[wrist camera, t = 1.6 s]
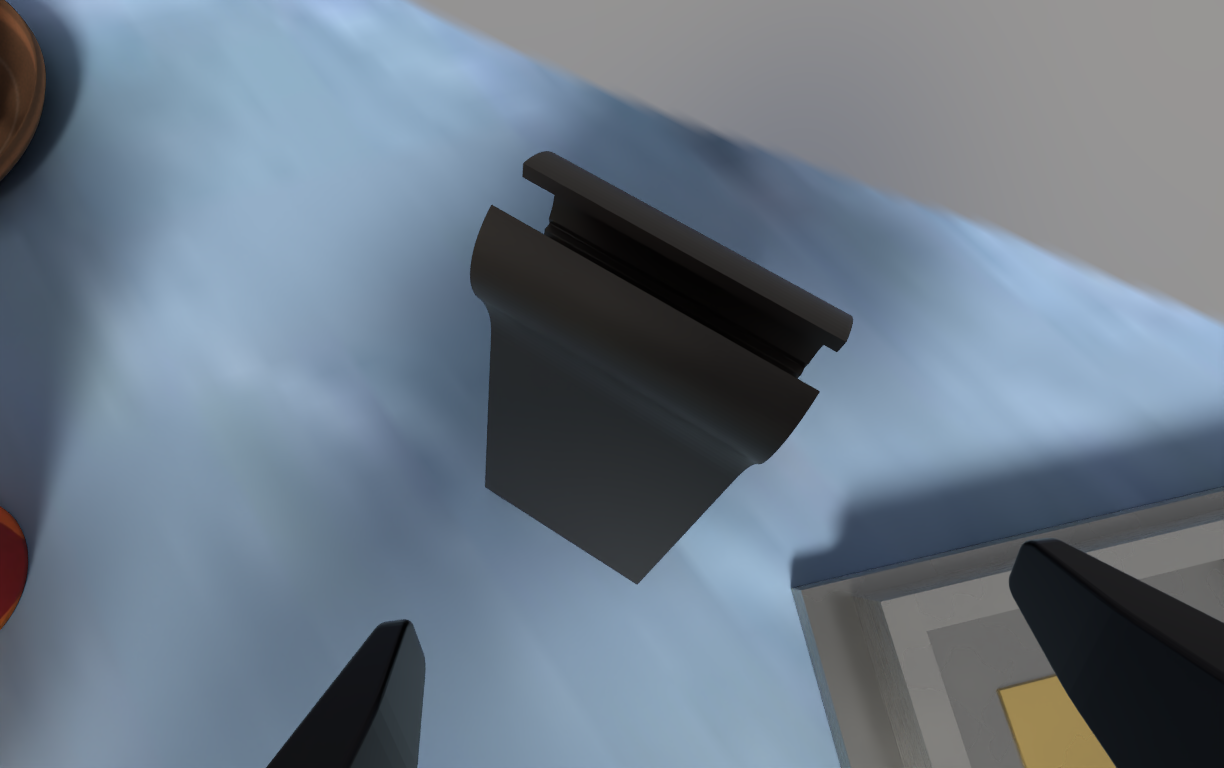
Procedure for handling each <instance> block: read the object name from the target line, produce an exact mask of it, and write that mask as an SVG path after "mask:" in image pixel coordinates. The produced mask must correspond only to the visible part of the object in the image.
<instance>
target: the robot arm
mask: <svg viewBox="0 0 1224 768" xmlns="http://www.w3.org/2000/svg"><path fill="white" fill-rule="evenodd" d="M1009 589H1010V592H1011V594H1012V597H1013V598H1014V600H1015V602H1016V604H1017V606H1018V607H1019V609H1020V611H1021V613H1022V615H1023V616H1024V618H1025V620H1026V622H1027V624H1028V625H1029V627H1030V629H1031V631H1032V633H1033V635H1034V636H1035V638H1036V640H1037V642H1038V644H1039V645H1040V647H1041V649H1042V651H1043V653H1044V654H1045V656H1046V658H1047V660H1048V662H1049V663H1050V665H1051V667H1052V669H1053V671H1054V672H1055V674H1056V676H1057V678H1058V680H1059V681H1060V683H1061V685H1062V686H1063V688H1064V690H1065V691H1066V693H1067V695H1068V696H1069V698H1070V699H1071V701H1072V703H1073V704H1074V706H1075V707H1076V709H1077V710H1078V712H1079V713H1080V715H1081V716H1082V718H1083V719H1084V721H1085V722H1086V724H1087V725H1088V727H1089V728H1090V730H1091V731H1092V733H1093V734H1094V736H1095V737H1096V738H1097V740H1098V741H1099V743H1100V744H1101V746H1102V747H1103V749H1104V750H1105V752H1106V753H1107V755H1108V756H1109V758H1110V759H1111V761H1112V762H1113V764H1114V765H1115V767H1116V768H1224V623H1223V622H1221V621H1219V620H1217V619H1215V618H1214V617H1212V616H1210V615H1208V614H1206V613H1204V612H1202V611H1200V610H1198V609H1196V608H1194V607H1192V606H1190V605H1188V604H1186V603H1184V602H1182V601H1180V600H1178V599H1176V598H1174V597H1172V596H1170V595H1168V594H1166V593H1164V592H1162V591H1160V590H1158V589H1156V588H1154V587H1152V586H1150V585H1148V584H1146V583H1144V582H1142V581H1140V580H1138V579H1136V578H1134V577H1132V576H1130V575H1128V574H1126V573H1124V572H1122V571H1120V570H1118V569H1116V568H1114V567H1112V566H1111V565H1109V564H1107V563H1105V562H1103V561H1101V560H1099V559H1097V558H1095V557H1093V556H1091V555H1089V554H1087V553H1085V552H1083V551H1081V550H1079V549H1077V548H1075V547H1073V546H1071V545H1069V544H1067V543H1065V542H1063V541H1061V540H1058V539H1055V538H1042V539H1034V540H1028V541H1025V542H1024V543H1023V544H1022V545H1021V547H1020V549H1019V552H1018V554H1017V557H1016V560H1015V562H1014V565H1013V568H1012V570H1011V573H1010V576H1009ZM424 682H425V657H424V653H423V651H422V648H421V645H420V642H419V640H418V637H417V634H416V632H415V629H414V626H413V624H412V622H411V621H409V620H406V619H404V620H396V621H388V622H383V623H381V624H379V625H378V626H377V627H376V628H375V629H374V631H373V632H372V633H371V634H370V636H369V637H368V638H367V640H366V641H365V642H364V643H363V645H362V646H361V647H360V648H359V650H358V651H357V652H356V654H355V655H354V656H353V657H352V659H351V660H350V661H349V662H348V664H347V665H346V666H345V668H344V669H343V670H342V671H341V673H340V674H339V675H338V677H337V678H336V679H335V680H334V682H333V683H332V684H331V685H330V687H329V688H328V689H327V691H326V692H325V693H324V694H323V696H322V697H321V698H320V699H319V701H318V702H317V703H316V705H315V706H314V707H313V708H312V710H311V711H310V712H309V714H308V715H307V716H306V717H305V719H304V720H303V721H302V722H301V724H300V725H299V726H298V728H297V729H296V730H295V731H294V733H293V734H292V735H291V736H290V738H289V739H288V740H287V742H286V743H285V744H284V745H283V747H282V748H281V749H280V751H279V752H278V753H277V754H276V756H275V757H274V758H273V759H272V761H271V762H270V763H269V765H268V766H267V767H266V768H417V765H418V753H419V741H420V729H421V718H422V706H423V694H424Z"/></svg>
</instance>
